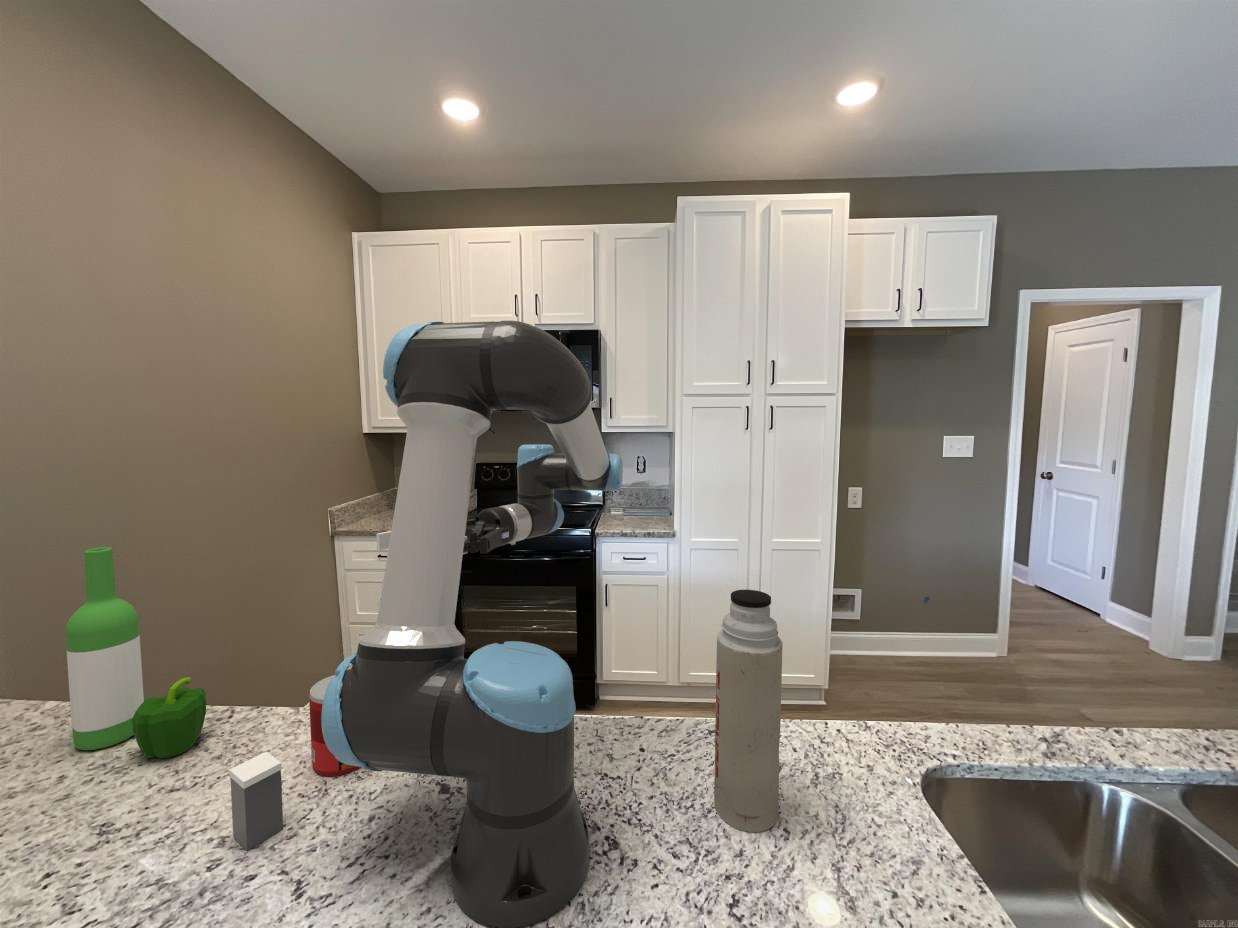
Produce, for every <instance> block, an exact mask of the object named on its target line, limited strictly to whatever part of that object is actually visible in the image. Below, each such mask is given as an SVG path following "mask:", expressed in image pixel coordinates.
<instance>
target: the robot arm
mask: <svg viewBox="0 0 1238 928" xmlns="http://www.w3.org/2000/svg"><path fill="white" fill-rule="evenodd" d="M389 342H390V343H388V346H387V348H386V351H385V354H384V358H383V363H382V364H383V365H382V366H383V367H382V374H383V379H384V380H385V381H386V384H385V385H384V387H385V392H386V393H387V395H388V398H389V399H390V401H391V403H393V404H394V406H396V407H397V409H396V415H397V416H398V418H399V419H400V420H401V421H402V422H403V424H404V425H405V426H406V428H407V430H406V436H405V437H406V438H405V443H404V449H403V454H402V462H401V467H400V474H399V481H398V486H397V492H396V493H397V494H396V499H395V505H394V511H393V512H394V513H393V519H392V525H391V530H389V531H385V532H383V531H382V532H379V533H378V532H377V533H376V550H378V551H382V550H387V556H386V560H385V561H386V562H385V569H384V576H383V581H382V586H381V587H382V588H381V594H380V600H379V607H378V611H377V612H378V613H377V619H376V623H375V624H374V626H373V627H372V628H371V629H369V630H368V631H367V632H366V633H364V634H363V635H362V636H361V637H360V638H359V641H358V643H357V651H356V652H355V653H353V654H351V655H349V656H347V657H346V658H345V659H343V661H341V663H339V665H338V666H337V668H336V669H335V671H334V675H335V676H336V677H335V678H333V679H331V680H330V682H329V684H328V686H327V689H326V692H325V695H324V700H323V705H322V716H321V720H322V733H323V737H324V741H325V743H326V746H327V748H328V750H329V751H330V752H331V753H332V754H333V755H334V756H335V758H336V759H337V760H338V761H340V762H342V763H344V764H347V765H352V766H358V767H359V768H362V769H365V770H367V771H370V772H382V771H384V772H385V771H387V772H395V773H396V772H397V773H407V774H417V775H427V776H438V777H439V776H440V777H450V778H451V777H452V778H459V779H460V778H461V779H464V780H465V781H466V805H465V808H464V811H463V815H462V817H461V821H460V824H459V829H458V833H457V834H456V837H455V839H454V841H453V846H452V850H451V856H450V883H451V885H450V886H451V890H452V894H453V896H454V900H455V901H456V903H457V904H458V906H459V908H460V909H461V910H462V912H464V913H465V914H466V915H467V916H468V917H470V918H471V919H472V920H473V921H476V922H478V923H480V924H483V925H486V926H489V927H492V928H521V927H526V926H530V925H533V924H536V923H539V922H541V921H543V920H546V919H547V918H549V917H551V916H552V915H554V914H555V913H557V912H558V911H560V910H561V909H563V908H564V907H565V906H566V905H567V904H568V903H569V902H570V901H571V899H573V897H575V895H576V894H577V892H578V891H579V890H580V888H581V886H582V885H583V883H584V881H585V878H586V876H587V873H588V870H589V864H590V832H589V827H588V823H587V821H586V818H585V816H584V813H583V811H582V810H581V805H580V801H579V797H578V794H577V792H576V790H575V778H574V777H575V774H574V773H575V714H576V699H575V696H574V684H573V683H574V681H573V674H572V670H571V668H570V666H569V665H568V663H567V662H566V660H564V659H563V658H562V657H561V656H560V655H559V654H558V653H556V652H555V651H553V650H552V649H550V648H548V647H545V646H542V645H539V644H536V643H532V642H527V641H518V640H517V641H515V640H512V641H511V640H510V641H508V640H507V641H504V642H503V643H501V644H500V643H497V642H493V643H491V644H486V645H485V646H482V647H479V648H478V649H477V650H474V652H472V654H470V655H469V656H468V658H465V657H464V655H465V645H466V638H465V637H464V636H463V635H462V633H461V632H460V631H459V630H458V628H457V627H456V625H455V620H456V613H457V603H458V595H459V586H460V581H461V570H462V562H463V555H467V554H468V552H469V553H471V554H475V553H477V552H478V551H479V553H480V554H483V555H486V554H489V553H490V552H491V551H493V550H494V549H496V548H499V547H502V546H505V545H508V544H510V545H511V546H513V545H514V546H515V545H516V542H520V541H523V540H527V539H531V538H536V537H540V536H545V535H548V534H551V533H553V532H555V531H558V529H559V528H560V527H561V526H562V524H563V522H564V519H565V513H564V510H563V507H562V504H561V503H560V502H559V501H558V500H557V499H555V498H554V497H555V495H554V493H555V492H554V491H555V490H557V491H558V490H560V491H561V490H562V491H564V490H565V491H567V490H569V491H571V490H572V491H598V492H599V491H602V492H606V491H618V490H619V489H620V488H622V485H623V484H622V483H623V475H624V469H623V468H624V467H623V466H624V464H623V459H622V457H621V456H620V455H619V454H614V453H613V454H612V453H608V452H607V449H606V445H605V444H604V440H603V438H602V435H601V431H600V429H599V427H598V423H597V420H596V417H595V415H594V412H593V409H592V406H591V402H592V398H593V389H592V385H591V381H590V379H589V376H588V373H587V372H586V369H585V368H584V366H583V365H582V363H581V362H580V360H579V359H578V358H577V357H576V356H575V354H574V353H573V352H572V351H571V350H570V349H569V348H568V347H567V346H565V344H563V343H562V342H561V341H560V340H558V339H557V338H556V337H555V336H553V335H552V334H550V333H548V332H546V331H545V330H543V329H542V328H539V327H537V326H535V325H532V324H529V323H526V322H523V321H519V320H501V321H472V322H471V321H470V322H469V321H468V322H467V321H465V322H464V321H463V322H443V321H428V322H426V323H420V324H419V323H417V324H416V323H415V324H410V325H408V326H406V327H403V328H402V329H400V330H399V331H398V332H397V333H396V334H395V335H394V336H393V337H392V338H391V340H390V341H389ZM510 410H512V411H513V410H515V411H527V412H531V413H532V415H533V416H534V417H535V418H536V419H537V420H539V421H540V422H542V423H543V424H544V423H545V424H546V425H547V427H548V429H549V430H550V432H551V435H552V436H553V438H554V440H555V441H556V443H557V444H558V447H559V449H560V450H561V453H560V452H559V453H557V452H555V449H554V446H553V445H552V444H544V443H543V444H522V445H520V446H519V447H518V448H517V465H516V470H517V480H516V481H517V503H511V504H510V503H509V504H506V505H500V506H494V507H489V508H485V509H482V510H481V511H479V512H478V514H477V515H476V518H475V519H470V518H469V519H468V513H469V506H470V498H471V489H472V480H473V472H474V465H475V464H474V463H475V456H476V447H477V441H478V440H477V439H478V438H479V437H480V436H481V435H482V434H484V433H485V432H487V431H488V430H489V429H490V427H491V421H492V413H493V411H510Z"/></svg>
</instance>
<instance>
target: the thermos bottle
mask: <svg viewBox="0 0 1238 928" xmlns="http://www.w3.org/2000/svg"><path fill="white" fill-rule="evenodd" d="M730 601H731V602H730V604H729V613H727V614H725V615H724V616H723V618H722V623H721V630H720V631H719V632H718V633H717V635H716V665H715V666H716V667H715V668H716V671H715V673H716V674H715V675H716V676H715V724H714V727H715V728H714V731H715V733H714V737H715V738H714V782H713V783H714V788H713V789H714V791H713V793H714V796H713V803H714V804H713V805H714V807H715V808H714V809H715V811H716V812H717V814H718V816H719V817H720V818H721V819H722V821H724V822H725V823H727V824H728V825H729V826H730V827H732V828H735V829H737V830H739V831H743V832H747V833H760V832H765V831H768V830H770V829H771V828H772V827H773V826H774V825H775V824H776V823H777V820H778V818H779V796H780V795H779V792H780V791H779V790H780V740H781V721H782V720H781V718H782V717H781V716H782V713H781V712H782V710H781V709H782V675H783V668H782V667H783V641H782V638H780V636H779V631H778V623H777V621H776V620H775V619H774V618H772V617H771V607H770V605H771V604H772V596H771V595H770V594H768V593H766V592H763V591H760V590H755V589H737V590H734V591H731V593H730Z"/></svg>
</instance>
